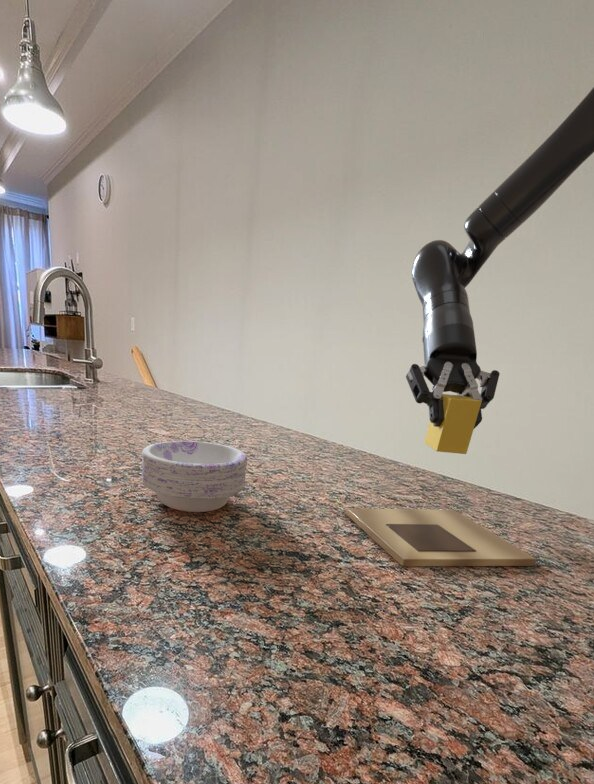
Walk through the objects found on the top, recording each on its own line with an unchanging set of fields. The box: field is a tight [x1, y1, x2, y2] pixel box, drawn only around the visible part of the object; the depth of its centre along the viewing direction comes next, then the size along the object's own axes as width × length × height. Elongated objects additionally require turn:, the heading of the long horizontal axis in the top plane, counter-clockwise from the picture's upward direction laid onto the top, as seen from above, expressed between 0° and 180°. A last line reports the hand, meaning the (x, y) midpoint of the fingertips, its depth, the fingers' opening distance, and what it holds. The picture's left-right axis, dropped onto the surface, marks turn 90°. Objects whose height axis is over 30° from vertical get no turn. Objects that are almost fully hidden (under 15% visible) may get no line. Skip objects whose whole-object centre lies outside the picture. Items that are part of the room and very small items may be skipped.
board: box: [345, 507, 538, 567], centre depth 61 cm, size 18×16×1 cm
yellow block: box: [424, 393, 482, 455], centre depth 70 cm, size 4×6×8 cm
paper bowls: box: [141, 440, 248, 513], centre depth 66 cm, size 15×15×8 cm
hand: (456, 424), depth 68 cm, fingers closed on yellow block, 4 cm apart
